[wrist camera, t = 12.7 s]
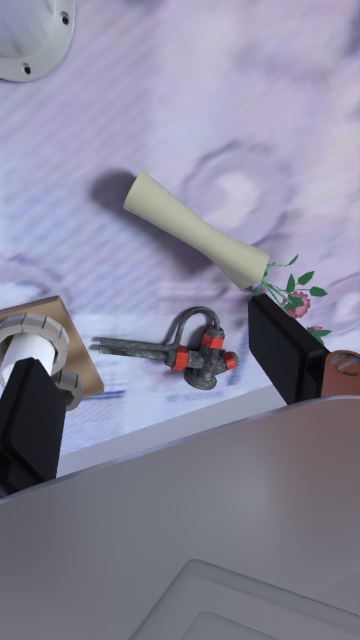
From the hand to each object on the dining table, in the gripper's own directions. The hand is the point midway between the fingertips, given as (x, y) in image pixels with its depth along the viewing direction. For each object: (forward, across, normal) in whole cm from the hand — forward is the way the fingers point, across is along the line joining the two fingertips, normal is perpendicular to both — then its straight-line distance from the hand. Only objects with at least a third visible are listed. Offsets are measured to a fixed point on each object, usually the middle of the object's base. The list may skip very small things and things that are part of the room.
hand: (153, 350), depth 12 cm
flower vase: (+29, -14, +9) cm, 33 cm away
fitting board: (+28, +18, +19) cm, 39 cm away
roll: (+27, +18, +14) cm, 35 cm away
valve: (+29, -3, +23) cm, 37 cm away
